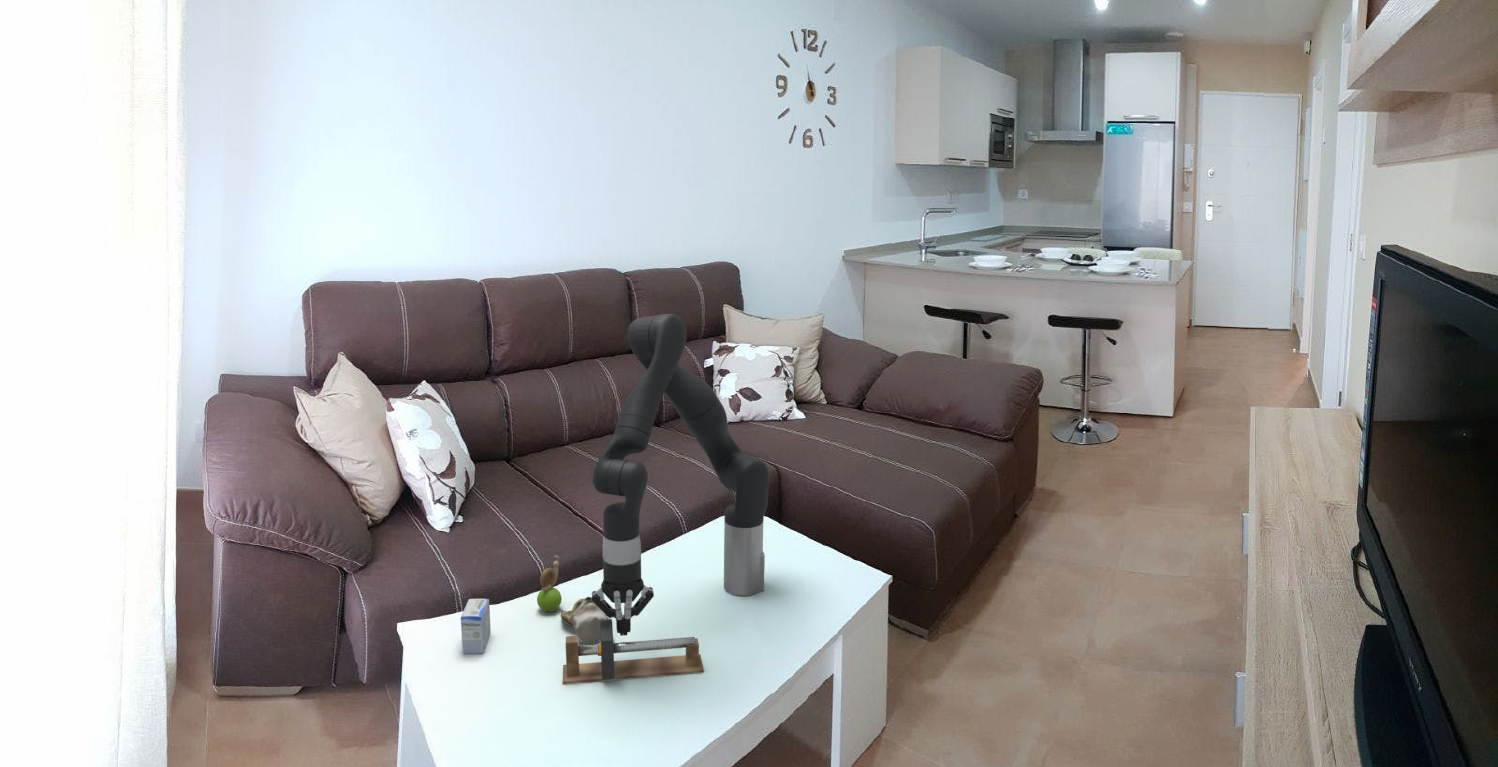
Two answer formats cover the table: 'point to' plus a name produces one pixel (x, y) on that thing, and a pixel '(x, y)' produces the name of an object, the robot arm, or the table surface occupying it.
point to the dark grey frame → (607, 649)
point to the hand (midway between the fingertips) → (623, 633)
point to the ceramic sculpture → (585, 620)
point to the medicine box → (475, 626)
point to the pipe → (638, 646)
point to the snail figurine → (549, 589)
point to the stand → (630, 665)
